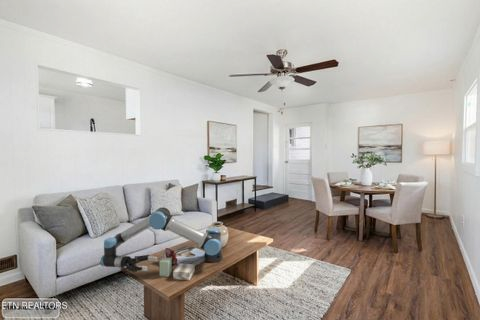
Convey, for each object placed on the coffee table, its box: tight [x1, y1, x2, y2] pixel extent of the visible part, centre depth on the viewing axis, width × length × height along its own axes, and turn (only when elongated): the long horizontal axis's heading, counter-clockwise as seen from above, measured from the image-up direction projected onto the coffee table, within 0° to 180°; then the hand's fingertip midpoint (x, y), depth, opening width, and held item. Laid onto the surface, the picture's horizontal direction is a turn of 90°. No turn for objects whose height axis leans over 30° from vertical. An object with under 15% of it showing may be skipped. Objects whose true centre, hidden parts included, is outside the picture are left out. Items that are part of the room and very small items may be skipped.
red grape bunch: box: [164, 247, 179, 265], centre depth 175 cm, size 7×12×10 cm, turn 49°
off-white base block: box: [172, 263, 196, 281], centre depth 158 cm, size 11×11×5 cm
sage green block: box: [159, 257, 173, 277], centre depth 160 cm, size 6×6×10 cm
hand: (152, 263), depth 161 cm, fingers open, 13 cm apart
